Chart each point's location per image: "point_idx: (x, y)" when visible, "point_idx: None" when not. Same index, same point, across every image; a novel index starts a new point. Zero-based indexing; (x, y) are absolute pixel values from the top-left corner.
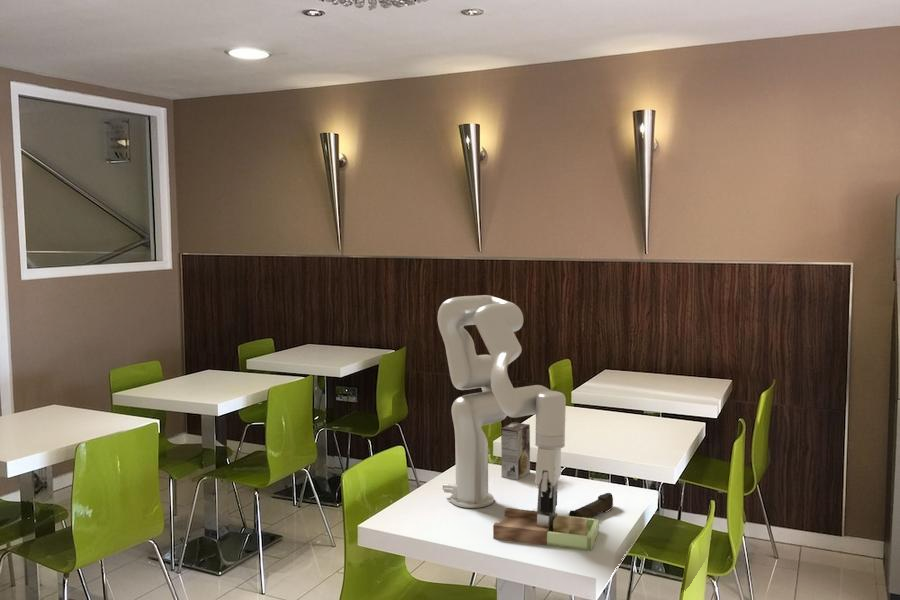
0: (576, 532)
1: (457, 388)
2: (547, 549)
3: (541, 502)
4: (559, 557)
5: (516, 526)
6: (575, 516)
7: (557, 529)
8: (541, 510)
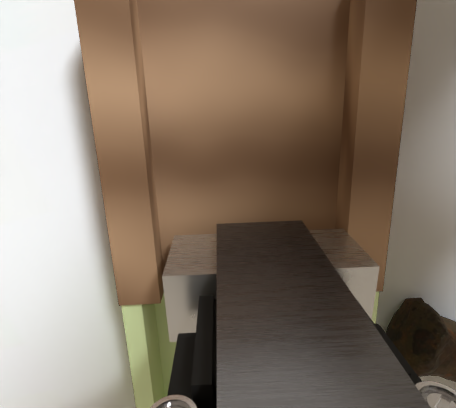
0: None
1: None
2: (94, 282)
3: (197, 343)
4: (43, 339)
5: (113, 133)
6: (409, 344)
7: None
8: (200, 301)
